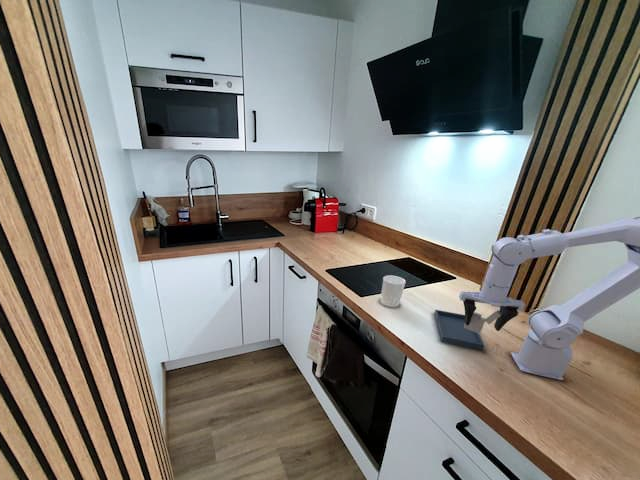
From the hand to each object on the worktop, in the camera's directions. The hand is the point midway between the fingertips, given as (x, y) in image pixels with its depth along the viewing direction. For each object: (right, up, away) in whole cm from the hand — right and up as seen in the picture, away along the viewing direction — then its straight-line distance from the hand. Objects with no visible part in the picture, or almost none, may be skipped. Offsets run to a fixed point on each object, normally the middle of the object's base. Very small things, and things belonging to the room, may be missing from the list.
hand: (481, 326), depth 81 cm
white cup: (-15, +3, +30) cm, 33 cm away
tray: (+1, -4, +14) cm, 15 cm away
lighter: (0, -2, +2) cm, 3 cm away
